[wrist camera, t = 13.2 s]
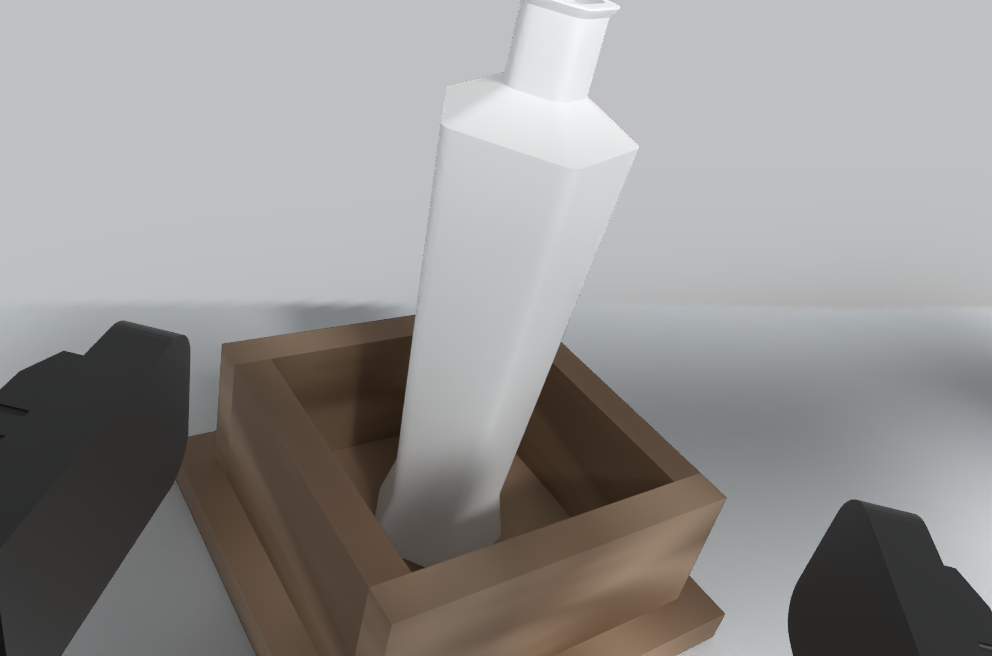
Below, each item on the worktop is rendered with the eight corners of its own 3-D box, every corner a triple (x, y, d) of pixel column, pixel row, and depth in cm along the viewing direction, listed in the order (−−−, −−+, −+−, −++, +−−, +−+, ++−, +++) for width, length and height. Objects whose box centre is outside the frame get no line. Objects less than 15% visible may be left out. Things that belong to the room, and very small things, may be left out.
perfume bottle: (323, 493, 25) (407, -49, 17) (447, 456, 28) (568, -30, 20) (403, 610, 22) (546, 23, 14) (533, 555, 25) (713, 33, 17)
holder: (492, 393, 33) (522, 281, 30) (712, 636, 25) (779, 513, 22) (169, 465, 26) (173, 328, 23) (335, 828, 18) (368, 684, 16)
